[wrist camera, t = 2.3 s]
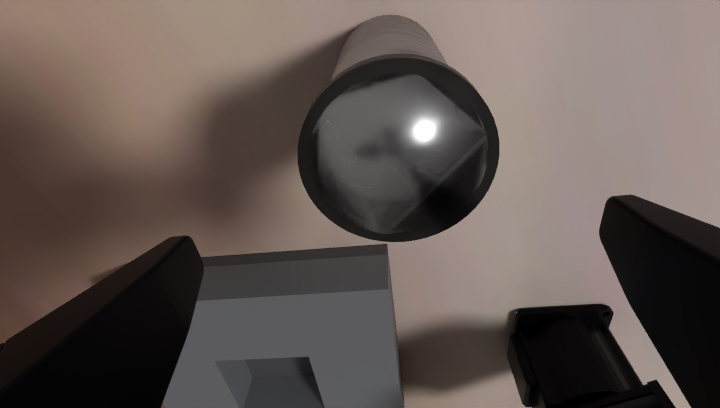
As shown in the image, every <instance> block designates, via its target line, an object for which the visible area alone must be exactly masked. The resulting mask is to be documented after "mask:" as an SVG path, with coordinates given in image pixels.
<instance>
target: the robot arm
mask: <svg viewBox="0 0 720 408" xmlns="http://www.w3.org/2000/svg"><path fill="white" fill-rule="evenodd" d="M599 235H600V240H601V242H602V244H603V247H604V249H605V251H606V253H607V256H608V258H609V260H610V262H611V264H612V267H613V269H614V271H615V273H616V276H617V278H618V280H619V282H620V285H621V287H622V289H623V291H624V293H625V295H626V298H627V300H628V302H629V304H630V305H631V307H632V309H633V311H634V312H635V314H636V316H637V318H638V319H639V321H640V323H641V324H642V326H643V328H644V329H645V331H646V333H647V334H648V336H649V338H650V339H651V341H652V343H653V344H654V346H655V348H656V349H657V351H658V353H659V354H660V356H661V358H662V359H663V361H664V363H665V364H666V366H667V368H668V369H669V371H670V373H671V374H672V376H673V378H674V380H675V381H676V383H677V385H678V386H679V388H680V390H681V391H682V393H683V395H684V396H685V398H686V400H687V401H688V403H689V405H690V406H691V408H720V228H719V227H716V226H713V225H711V224H708V223H705V222H703V221H700V220H697V219H695V218H692V217H690V216H687V215H684V214H682V213H679V212H676V211H674V210H671V209H669V208H666V207H663V206H661V205H658V204H655V203H653V202H650V201H648V200H645V199H642V198H640V197H637V196H634V195H621V196H612V197H610V198H609V199H608V200H607V201H606V204H605V208H604V212H603V216H602V220H601V224H600V229H599ZM203 274H204V264H203V261H202V258H201V256H200V254H199V252H198V250H197V248H196V246H195V244H194V242H193V240H192V238H191V237H189V236H175V237H170V238H168V239H166V240H165V241H163V242H162V243H160V244H158V245H157V246H155V247H154V248H152V249H150V250H149V251H147V252H146V253H144V254H143V255H141V256H139V257H138V258H136V259H135V260H133V261H131V262H130V263H128V264H127V265H125V266H124V267H122V268H120V269H119V270H117V271H116V272H114V273H112V274H111V275H109V276H108V277H106V278H104V279H103V280H101V281H100V282H98V283H97V284H95V285H93V286H92V287H90V288H89V289H87V290H85V291H84V292H82V293H81V294H79V295H78V296H76V297H74V298H73V299H71V300H70V301H68V302H66V303H65V304H63V305H62V306H60V307H58V308H57V309H55V310H54V311H52V312H51V313H49V314H47V315H46V316H44V317H43V318H41V319H39V320H38V321H36V322H35V323H33V324H32V325H30V326H28V327H27V328H25V329H24V330H22V331H20V332H19V333H17V334H16V335H14V336H13V337H11V338H9V339H8V340H7V341H6V342H5V343H2V344H0V408H161V406H162V403H163V401H164V398H165V395H166V393H167V390H168V387H169V384H170V382H171V379H172V376H173V374H174V371H175V368H176V366H177V363H178V360H179V357H180V355H181V352H182V349H183V347H184V344H185V341H186V338H187V335H188V332H189V329H190V326H191V322H192V318H193V314H194V310H195V306H196V302H197V298H198V294H199V290H200V286H201V282H202V278H203ZM612 317H613V311H612V309H611V308H610V307H609V306H607V305H600V306H582V307H563V308H545V309H526V310H520V311H518V312H517V314H516V318H515V325H514V333H512V334H511V335H510V338H509V346H508V353H507V357H508V360H509V363H510V367H511V370H512V373H513V376H514V379H515V382H516V385H517V389H518V392H519V395H520V398H521V401H522V404H523V405H524V406H525V407H532V408H675V406H674V405H673V403H672V402H671V400H670V399H669V397H668V396H667V394H666V393H665V391H664V390H663V388H662V387H661V386H660V384H659V383H658V381H657V380H653V381H650V382H647V384H646V385H643V384H642V382H641V381H640V379H639V377H638V376H637V374H636V372H635V371H634V369H633V368H632V366H631V364H630V363H629V361H628V359H627V358H626V356H625V354H624V353H623V351H622V349H621V348H620V346H619V345H618V343H617V341H616V340H615V338H614V336H613V335H612V333H611V331H610V330H609V325H610V323H611V320H612Z"/></svg>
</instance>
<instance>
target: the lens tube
mask: <svg viewBox="0 0 720 408" xmlns="http://www.w3.org/2000/svg"><path fill="white" fill-rule="evenodd" d="M498 159H499V138H498V131H497V127H496V124H495V121H494V118H493V116H492V114H491V112H490V110H489V108H488V106H487V105H486V103H485V102H484V100H483V99H482V97H481V96H480V95H479V93H478V92H477V90H476V89H475V87H474V86H473V85H472V84H471V83H470V82H469V81H468V80H467V79H466V78H465V77H464V76H463V75H461V74H460V73H459V72H457V71H456V70H455V69H453V68H451V67H450V66H448V64H447V62H446V61H445V59H444V57H443V56H442V54H441V52H440V51H439V49H438V47H437V46H436V44H435V42H434V41H433V39H432V38H431V36H430V35H429V33H428V32H427V31H426V30H425V29H424V28H423V27H422V26H421V25H419V24H418V23H417V22H415V21H413V20H411V19H409V18H406V17H403V16H399V15H382V16H377V17H374V18H372V19H369V20H367V21H365V22H363V23H362V24H361V25H359V26H358V27H357V28H356V29H355V30H354V31H353V32H352V33H351V34H350V35H349V36H348V38H347V39H346V41H345V43H344V45H343V47H342V49H341V52H340V55H339V58H338V61H337V64H336V66H335V69H334V72H333V75H332V78H331V81H330V82H329V83H327V85H326V86H325V87H324V88H323V89H322V90H321V92H320V93H319V94H318V96H317V97H316V99H315V100H314V102H313V104H312V106H311V108H310V110H309V112H308V115H307V117H306V119H305V122H304V124H303V127H302V130H301V134H300V137H299V144H298V165H299V172H300V176H301V179H302V182H303V185H304V187H305V189H306V191H307V193H308V195H309V197H310V198H311V200H312V201H313V203H314V204H315V205H316V206H317V208H318V209H319V210H320V211H321V212H322V213H323V214H324V215H325V216H326V217H327V218H328V219H329V220H331V221H332V222H334V223H335V224H336V225H338V226H339V227H341V228H343V229H345V230H346V231H348V232H351V233H353V234H356V235H358V236H361V237H364V238H368V239H372V240H378V241H387V242H405V241H413V240H418V239H422V238H426V237H429V236H432V235H435V234H438V233H440V232H442V231H444V230H446V229H448V228H450V227H452V226H453V225H455V224H457V223H458V222H459V221H461V220H462V219H463V218H465V217H466V216H467V215H468V214H469V213H470V212H471V211H472V210H473V209H475V208H476V206H477V205H478V204H479V203H480V201H481V200H482V199H483V197H484V196H485V194H486V193H487V191H488V190H489V188H490V185H491V183H492V181H493V179H494V176H495V173H496V169H497V166H498Z"/></svg>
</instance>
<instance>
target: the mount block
mask: <svg viewBox="0 0 720 408" xmlns="http://www.w3.org/2000/svg"><path fill="white" fill-rule="evenodd" d="M202 261H203V264H204V274H203V278H202V282H201V286H200V290H199V294H198V298H197V302H196V306H195V310H194V314H193V318H192V322H191V326H190V329H189V332H188V335H187V338H186V341H185V344H184V347H183V349H182V352H181V355H180V357H179V360H178V363H177V366H176V368H175V371H174V374H173V376H172V379H171V382H170V384H169V387H168V390H167V393H166V395H165V398H164V401H163V404H164V406H165V407H166V408H404V395H403V386H402V377H401V367H400V358H399V349H398V340H397V331H396V322H395V313H394V303H393V294H392V285H391V276H390V267H389V258H388V249H387V244H383V245H370V246H356V247H342V248H328V249H314V250H301V251H287V252H273V253H259V254H245V255H231V256H218V257H204V258H202Z"/></svg>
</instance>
